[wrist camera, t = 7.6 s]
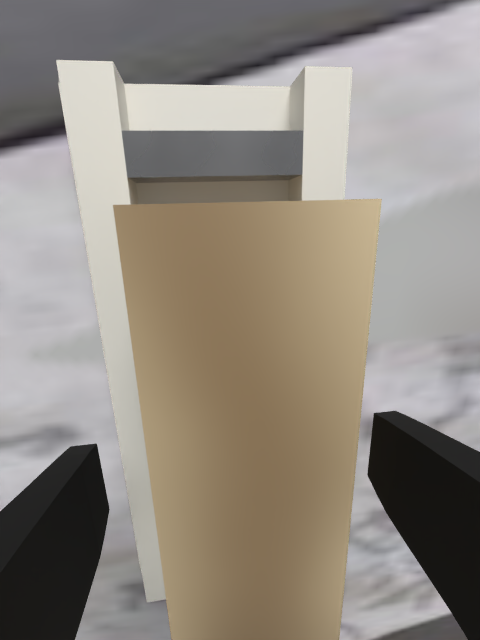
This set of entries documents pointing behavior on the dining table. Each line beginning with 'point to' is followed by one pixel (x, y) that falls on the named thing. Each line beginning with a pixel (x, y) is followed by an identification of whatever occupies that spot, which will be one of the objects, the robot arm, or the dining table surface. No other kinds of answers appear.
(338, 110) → the cream rectangular frame
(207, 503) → the beige rectangular panel
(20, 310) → the dining table surface
